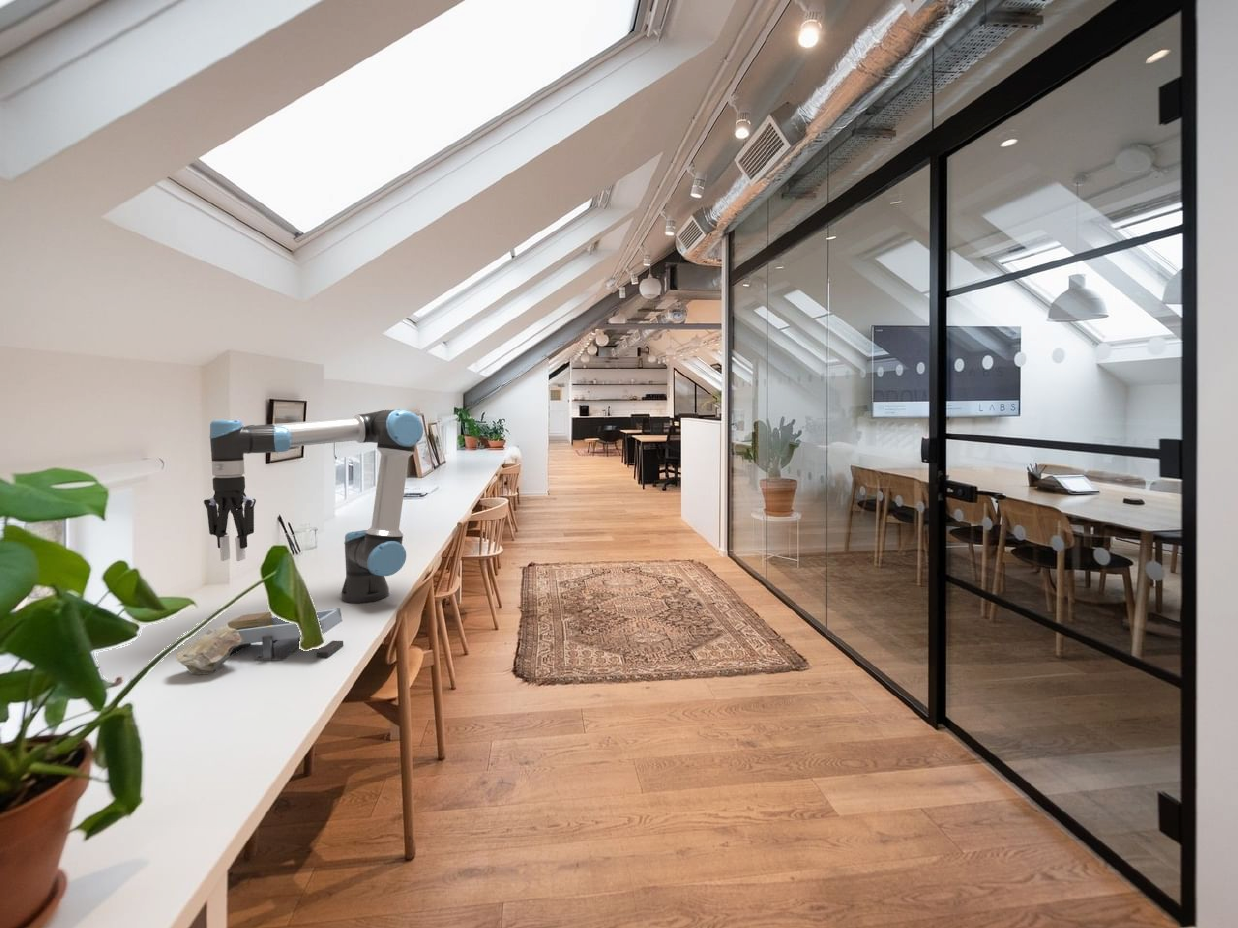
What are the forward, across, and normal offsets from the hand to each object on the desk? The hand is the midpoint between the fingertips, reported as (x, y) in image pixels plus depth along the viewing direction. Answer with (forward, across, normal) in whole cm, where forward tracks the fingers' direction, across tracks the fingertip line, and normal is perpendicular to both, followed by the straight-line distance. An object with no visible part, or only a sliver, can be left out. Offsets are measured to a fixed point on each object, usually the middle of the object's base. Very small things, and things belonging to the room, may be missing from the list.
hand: (233, 559), depth 172 cm
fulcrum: (+23, +18, -8) cm, 30 cm away
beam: (+17, +18, -8) cm, 26 cm away
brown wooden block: (+17, +10, -8) cm, 22 cm away
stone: (+23, +8, -22) cm, 33 cm away
